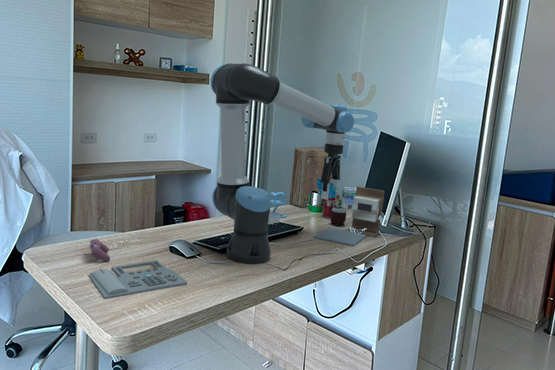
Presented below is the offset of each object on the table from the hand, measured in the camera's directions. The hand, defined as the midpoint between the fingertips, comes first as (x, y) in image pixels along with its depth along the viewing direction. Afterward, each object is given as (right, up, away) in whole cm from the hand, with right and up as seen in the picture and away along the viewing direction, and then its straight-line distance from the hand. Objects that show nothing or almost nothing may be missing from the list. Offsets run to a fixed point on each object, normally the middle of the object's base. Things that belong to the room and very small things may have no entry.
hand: (328, 196), depth 196 cm
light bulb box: (+18, -8, +57) cm, 61 cm away
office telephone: (-62, -23, -59) cm, 89 cm away
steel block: (-24, -12, +15) cm, 30 cm away
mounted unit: (+16, -16, +11) cm, 25 cm away
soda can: (+4, -11, +32) cm, 34 cm away
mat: (+5, -17, +1) cm, 18 cm away
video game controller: (-78, -18, -45) cm, 92 cm away
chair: (-22, -10, +26) cm, 36 cm away
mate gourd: (+6, -13, +21) cm, 25 cm away
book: (-3, -6, +59) cm, 59 cm away
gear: (-1, 0, +1) cm, 1 cm away
